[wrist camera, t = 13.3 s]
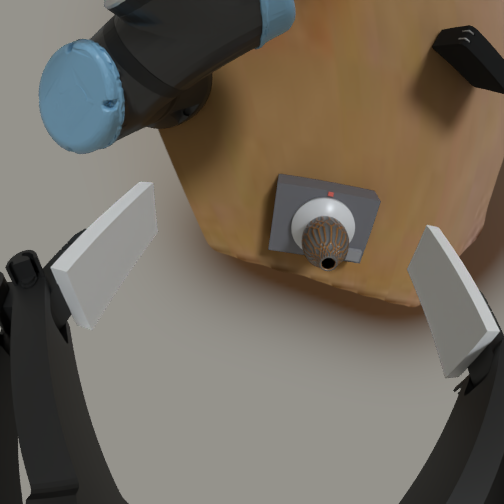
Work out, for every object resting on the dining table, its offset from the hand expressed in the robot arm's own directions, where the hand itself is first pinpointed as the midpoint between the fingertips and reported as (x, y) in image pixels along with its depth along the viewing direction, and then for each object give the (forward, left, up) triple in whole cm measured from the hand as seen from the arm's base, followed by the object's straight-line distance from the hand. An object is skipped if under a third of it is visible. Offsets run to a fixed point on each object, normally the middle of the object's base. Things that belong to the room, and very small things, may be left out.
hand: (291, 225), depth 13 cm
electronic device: (+25, +18, -32) cm, 44 cm away
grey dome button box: (+7, -15, -32) cm, 36 cm away
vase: (+7, -15, -27) cm, 32 cm away
